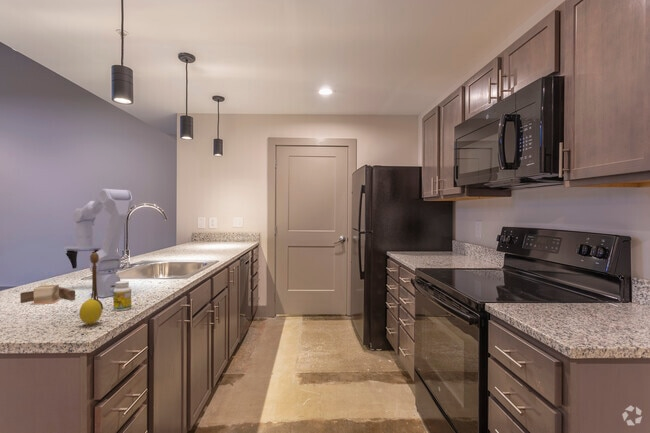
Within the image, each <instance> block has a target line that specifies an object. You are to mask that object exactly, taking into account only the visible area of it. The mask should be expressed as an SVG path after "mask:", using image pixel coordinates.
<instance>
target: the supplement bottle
mask: <svg viewBox="0 0 650 433" xmlns="http://www.w3.org/2000/svg"><path fill="white" fill-rule="evenodd" d="M129 284H130V281H128V280H120V281H119V282H116V283H115V286H116V288H115V289H114V290H113V296H112V297H113V300H112V301H113V310H114V311H116V312H123V311H128V310H130V309H131V308H132V288H131V287H130V286H129Z"/></svg>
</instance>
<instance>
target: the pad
mask: <svg viewBox="0 0 650 433" xmlns="http://www.w3.org/2000/svg"><path fill="white" fill-rule="evenodd" d="M62 299H63V298H60V297H59V299H57V300H55V301H53V302H51V303H34V302H32V303H30V304H29V305H33V306H34V305H46V304H54V303H56V302H58V301H60V300H62Z"/></svg>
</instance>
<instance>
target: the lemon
mask: <svg viewBox="0 0 650 433" xmlns="http://www.w3.org/2000/svg"><path fill="white" fill-rule="evenodd" d="M102 312H103V309H102V308H101V305H100V303H99V302H98V301H96V300H93V298H92V299H91V298H89V299H87V300H86V301H84V302H83V303H82V304H81V306H80V309H79V318H80V320H81V322H83V323H85V324H88V325H90V326H92V325H93V324H94V323H96V322H98V320H99V319H100V318H101V316H102Z"/></svg>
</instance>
